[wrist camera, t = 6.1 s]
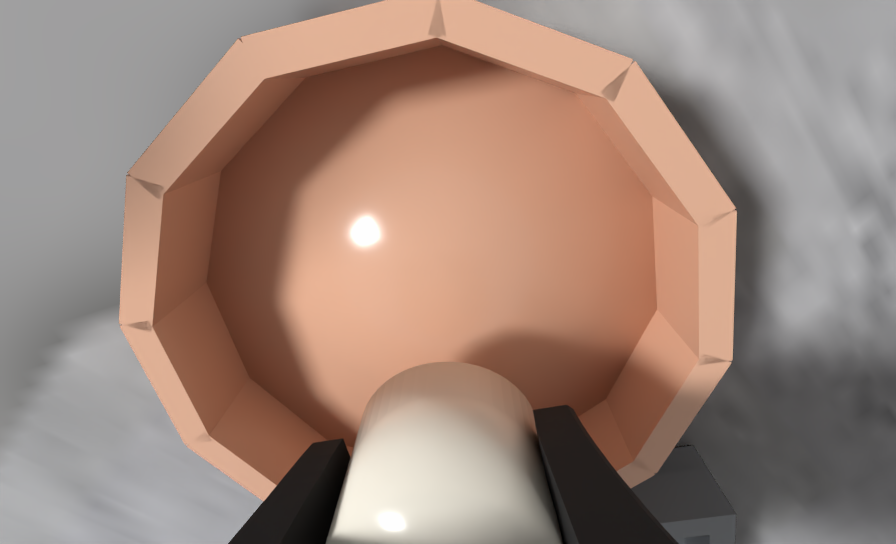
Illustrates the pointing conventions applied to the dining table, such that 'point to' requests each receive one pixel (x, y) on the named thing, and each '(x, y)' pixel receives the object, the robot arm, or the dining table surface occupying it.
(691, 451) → the parts tray
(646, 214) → the terracotta bowl
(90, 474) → the dining table surface
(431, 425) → the cream pebble
